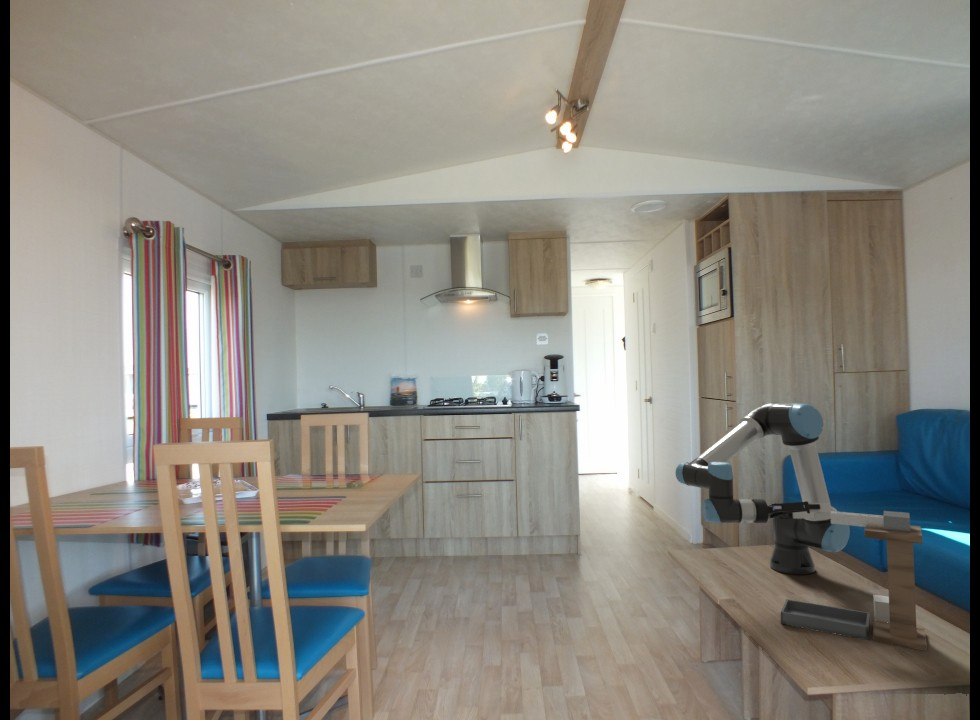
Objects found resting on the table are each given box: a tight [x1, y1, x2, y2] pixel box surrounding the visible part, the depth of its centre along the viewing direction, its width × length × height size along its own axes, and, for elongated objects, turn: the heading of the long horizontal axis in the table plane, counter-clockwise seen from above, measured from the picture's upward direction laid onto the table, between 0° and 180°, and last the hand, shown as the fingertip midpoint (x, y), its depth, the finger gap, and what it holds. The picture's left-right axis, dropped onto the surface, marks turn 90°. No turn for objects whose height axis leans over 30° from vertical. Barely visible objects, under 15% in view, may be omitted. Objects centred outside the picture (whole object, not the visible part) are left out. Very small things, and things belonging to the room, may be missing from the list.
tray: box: [780, 598, 871, 641], centre depth 179 cm, size 12×22×4 cm, turn 57°
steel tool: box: [830, 510, 911, 533], centre depth 174 cm, size 7×19×4 cm, turn 57°
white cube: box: [872, 594, 890, 623], centre depth 182 cm, size 6×6×6 cm
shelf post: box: [864, 524, 928, 652], centre depth 170 cm, size 12×13×30 cm
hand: (821, 510), depth 197 cm, fingers open, 13 cm apart
